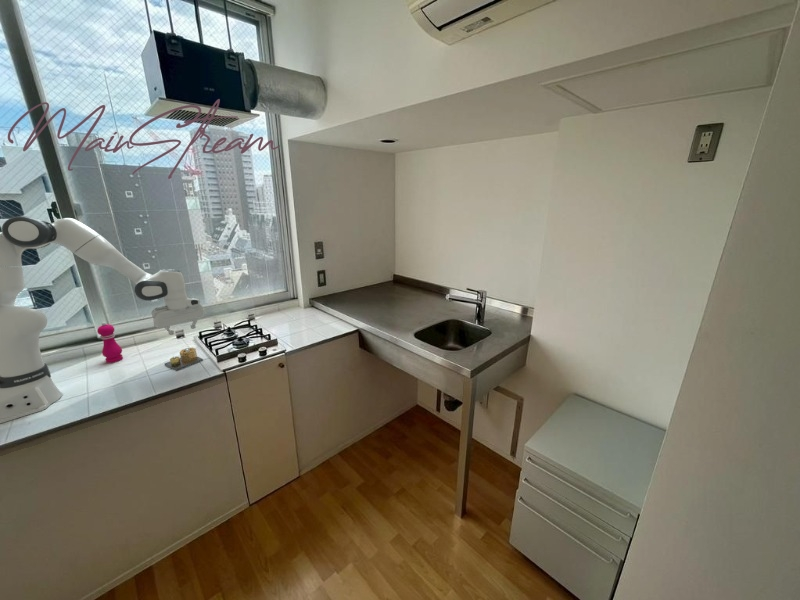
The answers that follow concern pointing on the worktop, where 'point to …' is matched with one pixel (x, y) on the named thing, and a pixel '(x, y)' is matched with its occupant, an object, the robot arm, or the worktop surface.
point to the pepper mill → (109, 344)
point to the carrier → (181, 362)
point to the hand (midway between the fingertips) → (182, 331)
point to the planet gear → (188, 355)
